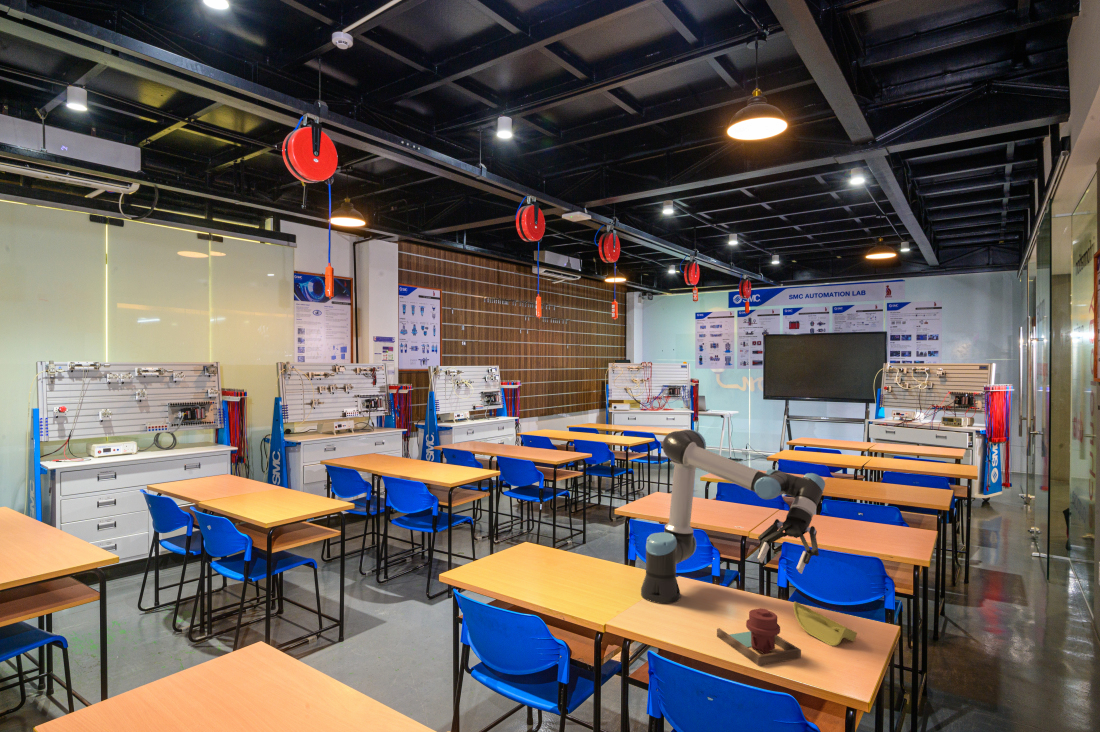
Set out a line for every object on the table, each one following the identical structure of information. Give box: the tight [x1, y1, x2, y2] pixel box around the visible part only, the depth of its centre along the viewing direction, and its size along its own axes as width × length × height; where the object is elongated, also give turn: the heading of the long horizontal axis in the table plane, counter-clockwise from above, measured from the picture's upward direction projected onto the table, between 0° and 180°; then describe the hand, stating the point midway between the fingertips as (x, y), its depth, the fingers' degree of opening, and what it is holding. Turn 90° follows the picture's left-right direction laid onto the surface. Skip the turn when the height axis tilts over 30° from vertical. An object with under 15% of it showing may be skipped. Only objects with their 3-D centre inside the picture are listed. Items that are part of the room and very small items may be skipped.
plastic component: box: [792, 601, 858, 647], centre depth 188 cm, size 20×7×10 cm
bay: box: [716, 627, 802, 667], centre depth 177 cm, size 20×16×2 cm
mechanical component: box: [745, 608, 781, 655], centre depth 174 cm, size 12×10×10 cm
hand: (778, 565), depth 182 cm, fingers open, 13 cm apart
